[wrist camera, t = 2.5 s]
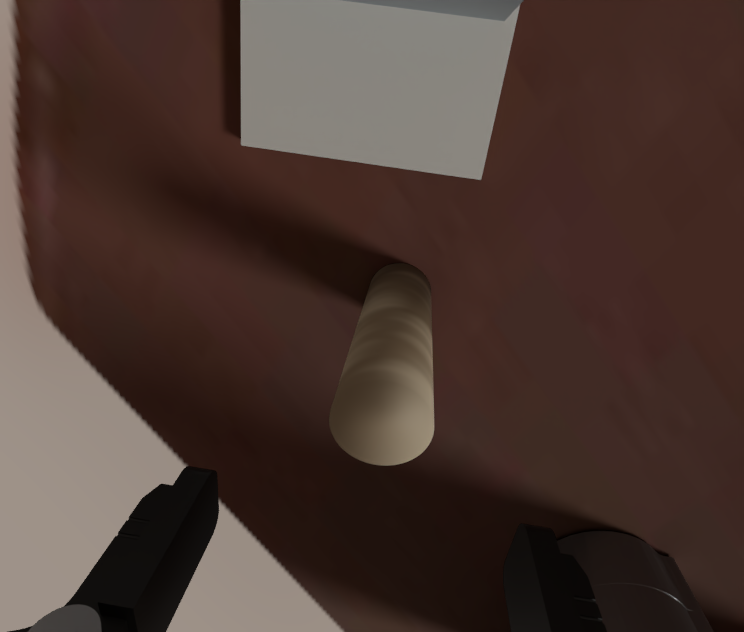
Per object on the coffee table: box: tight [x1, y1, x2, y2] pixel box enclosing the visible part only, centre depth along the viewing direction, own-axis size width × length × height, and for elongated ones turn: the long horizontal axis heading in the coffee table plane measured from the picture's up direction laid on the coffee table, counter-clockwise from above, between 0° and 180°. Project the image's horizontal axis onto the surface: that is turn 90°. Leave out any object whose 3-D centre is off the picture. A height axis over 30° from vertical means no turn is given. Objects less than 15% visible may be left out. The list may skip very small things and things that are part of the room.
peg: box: [329, 263, 434, 466], centre depth 21 cm, size 4×4×12 cm
